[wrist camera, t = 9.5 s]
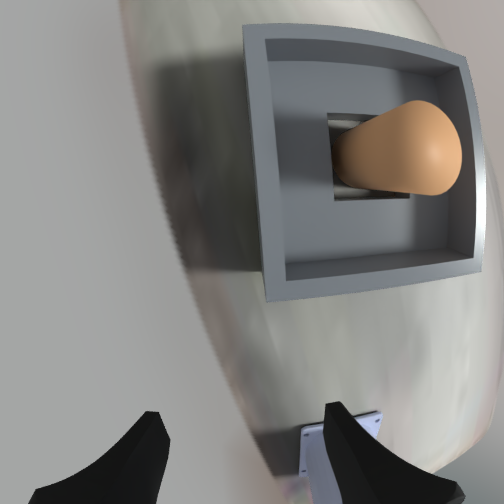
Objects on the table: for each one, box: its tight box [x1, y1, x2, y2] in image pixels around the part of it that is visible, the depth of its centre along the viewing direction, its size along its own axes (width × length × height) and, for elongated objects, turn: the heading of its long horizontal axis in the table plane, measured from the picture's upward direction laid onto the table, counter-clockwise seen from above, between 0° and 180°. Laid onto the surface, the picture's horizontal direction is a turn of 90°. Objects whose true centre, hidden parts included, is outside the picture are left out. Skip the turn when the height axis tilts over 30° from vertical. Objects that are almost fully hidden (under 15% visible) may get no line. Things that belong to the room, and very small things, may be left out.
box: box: [242, 23, 486, 302], centre depth 15 cm, size 14×14×5 cm
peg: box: [331, 100, 462, 195], centre depth 13 cm, size 4×4×8 cm
